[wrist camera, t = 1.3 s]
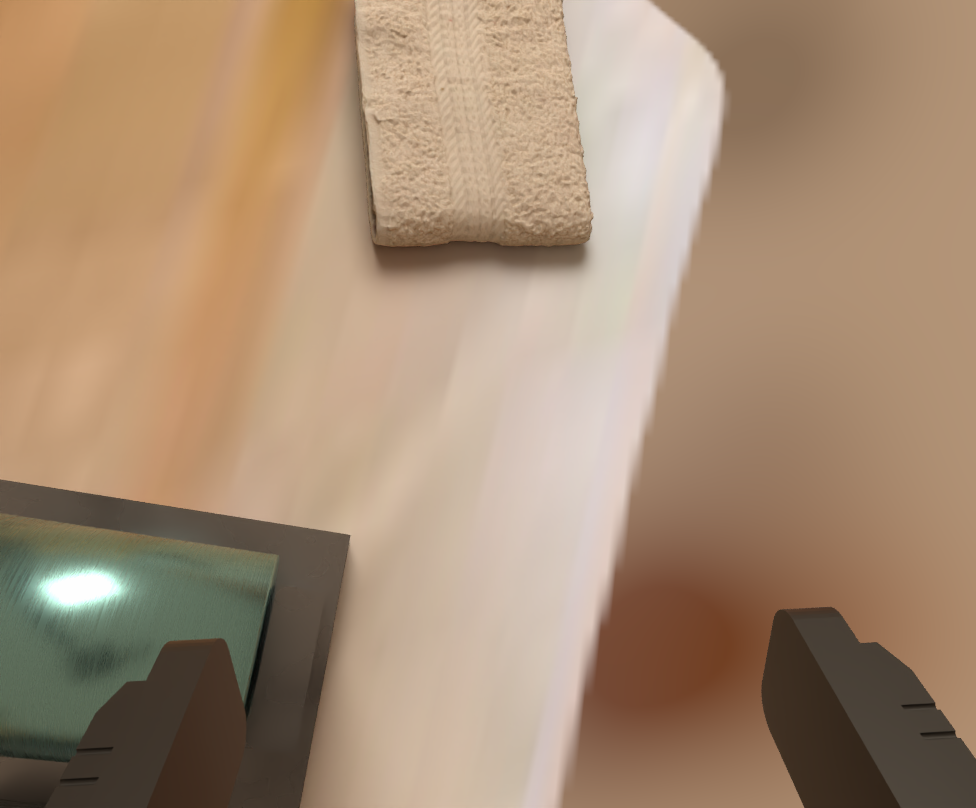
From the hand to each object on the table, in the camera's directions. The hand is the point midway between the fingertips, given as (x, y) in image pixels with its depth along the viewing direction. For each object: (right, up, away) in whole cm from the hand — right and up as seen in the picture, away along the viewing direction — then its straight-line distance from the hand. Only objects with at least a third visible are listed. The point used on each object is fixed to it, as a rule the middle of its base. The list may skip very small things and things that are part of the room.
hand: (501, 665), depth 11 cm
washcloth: (-2, +20, +30) cm, 36 cm away
